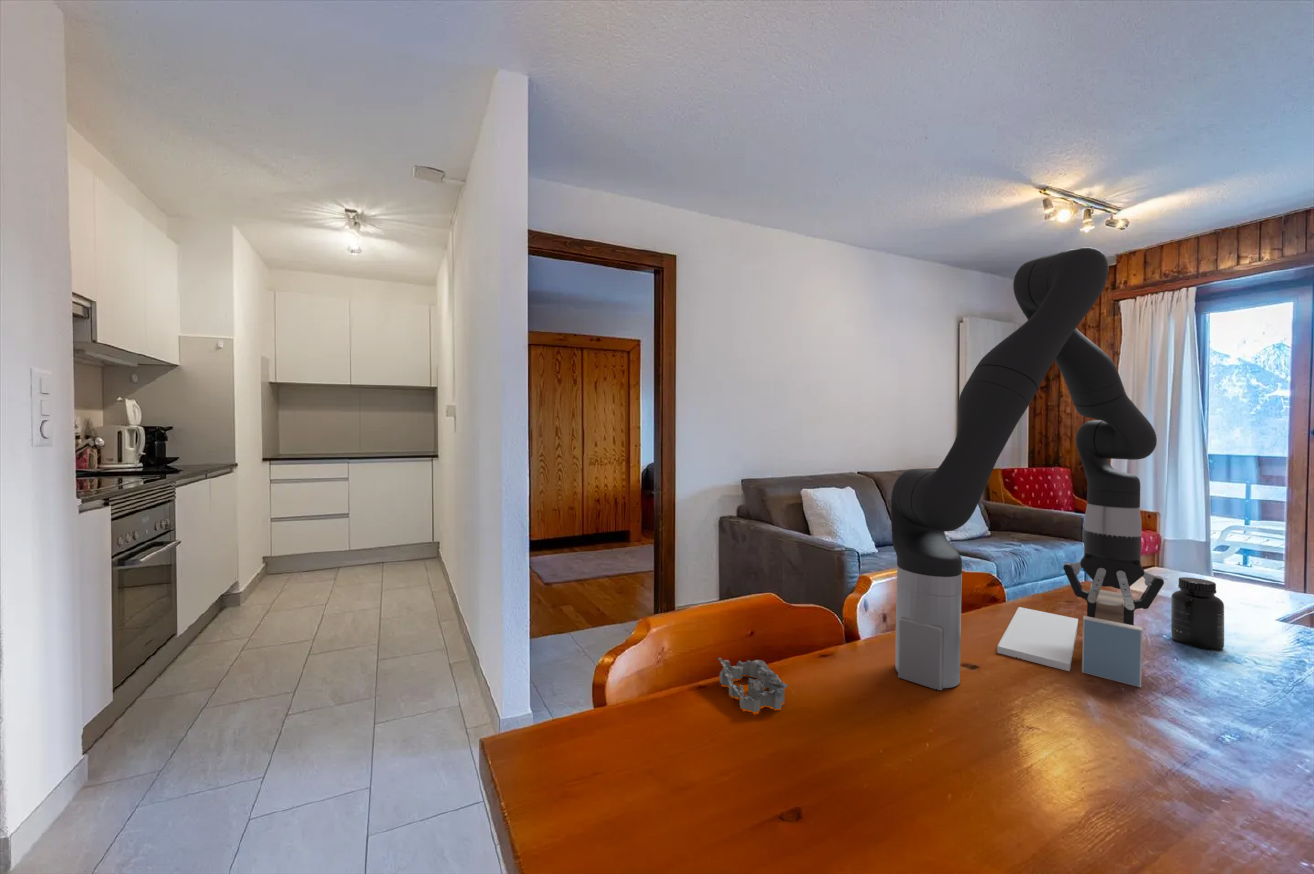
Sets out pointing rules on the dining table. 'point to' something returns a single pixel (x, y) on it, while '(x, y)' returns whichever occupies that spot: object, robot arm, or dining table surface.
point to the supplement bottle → (1197, 614)
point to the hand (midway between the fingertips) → (1109, 625)
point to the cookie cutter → (753, 684)
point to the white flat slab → (1112, 650)
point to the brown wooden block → (1110, 606)
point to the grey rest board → (1040, 638)
